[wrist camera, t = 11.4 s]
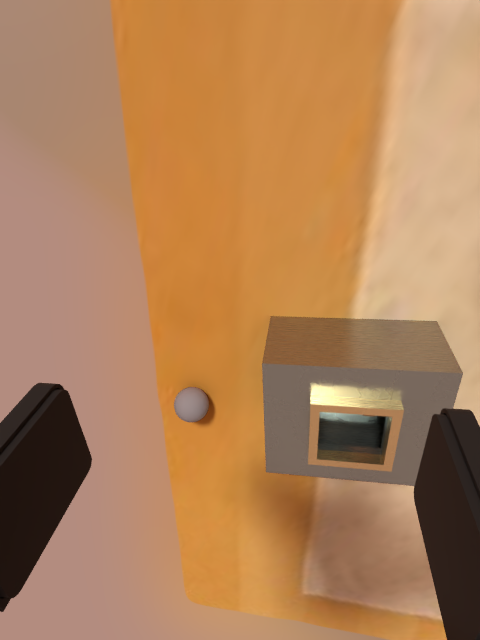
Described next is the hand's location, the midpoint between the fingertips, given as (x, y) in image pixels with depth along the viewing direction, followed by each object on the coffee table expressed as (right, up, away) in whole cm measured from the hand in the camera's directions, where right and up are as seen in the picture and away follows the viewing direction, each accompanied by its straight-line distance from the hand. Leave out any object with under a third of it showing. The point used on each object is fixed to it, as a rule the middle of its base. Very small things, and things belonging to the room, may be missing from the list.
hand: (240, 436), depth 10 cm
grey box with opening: (+11, -3, +33) cm, 35 cm away
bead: (-7, -8, +35) cm, 36 cm away
